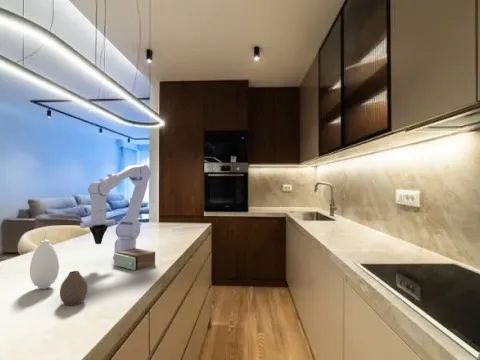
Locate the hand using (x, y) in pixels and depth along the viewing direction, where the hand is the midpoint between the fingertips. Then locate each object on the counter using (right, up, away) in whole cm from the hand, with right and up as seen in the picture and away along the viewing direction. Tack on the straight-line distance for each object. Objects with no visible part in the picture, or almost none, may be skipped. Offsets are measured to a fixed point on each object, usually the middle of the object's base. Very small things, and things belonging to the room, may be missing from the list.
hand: (98, 243), depth 125 cm
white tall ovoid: (-5, -9, -26) cm, 28 cm away
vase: (+11, -9, -38) cm, 41 cm away
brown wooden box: (+14, -10, +3) cm, 18 cm away
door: (+11, -9, -2) cm, 14 cm away
